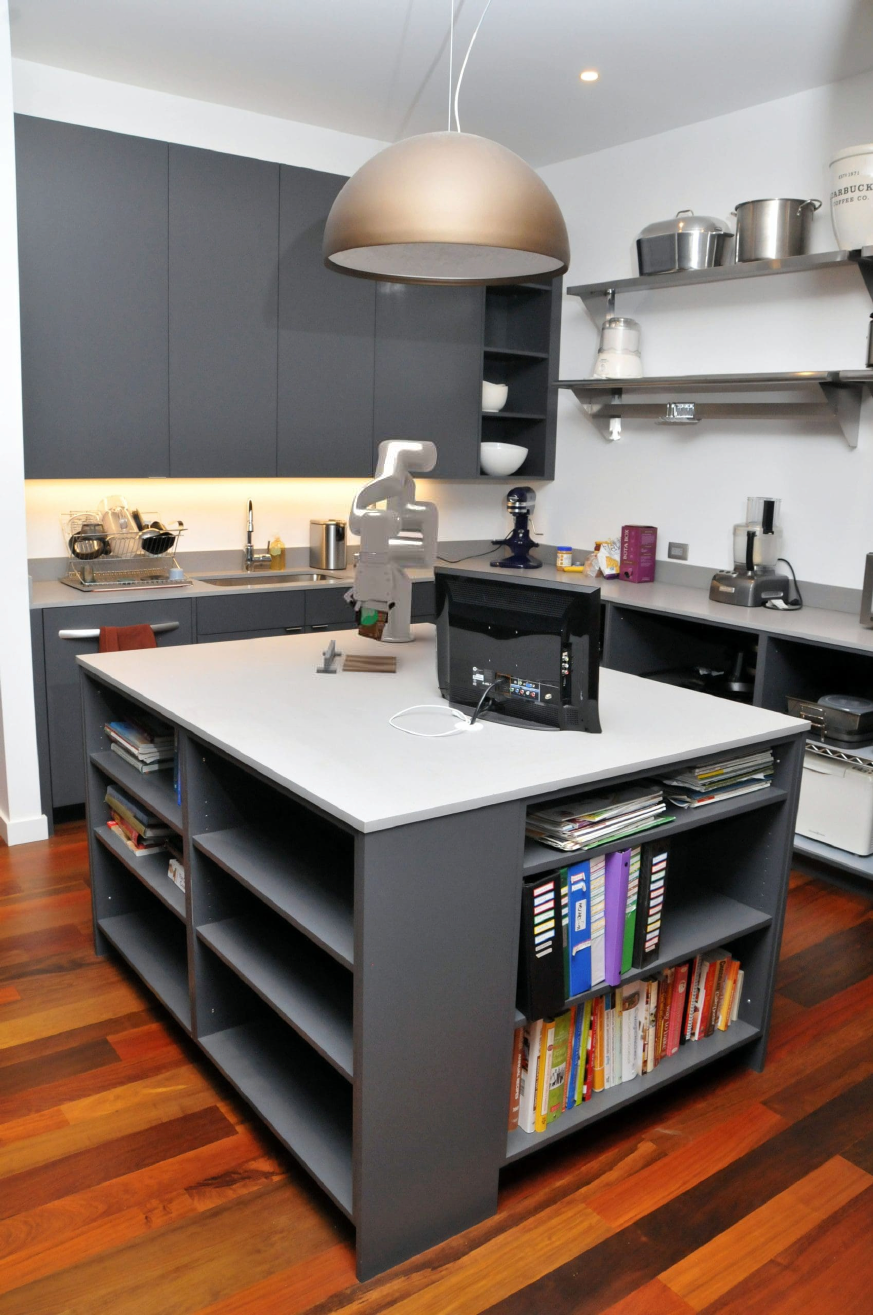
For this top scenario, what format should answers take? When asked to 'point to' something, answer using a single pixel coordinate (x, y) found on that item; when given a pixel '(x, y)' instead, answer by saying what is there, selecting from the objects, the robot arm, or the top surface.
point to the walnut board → (370, 663)
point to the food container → (372, 619)
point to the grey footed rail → (329, 659)
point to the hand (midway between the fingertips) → (371, 624)
